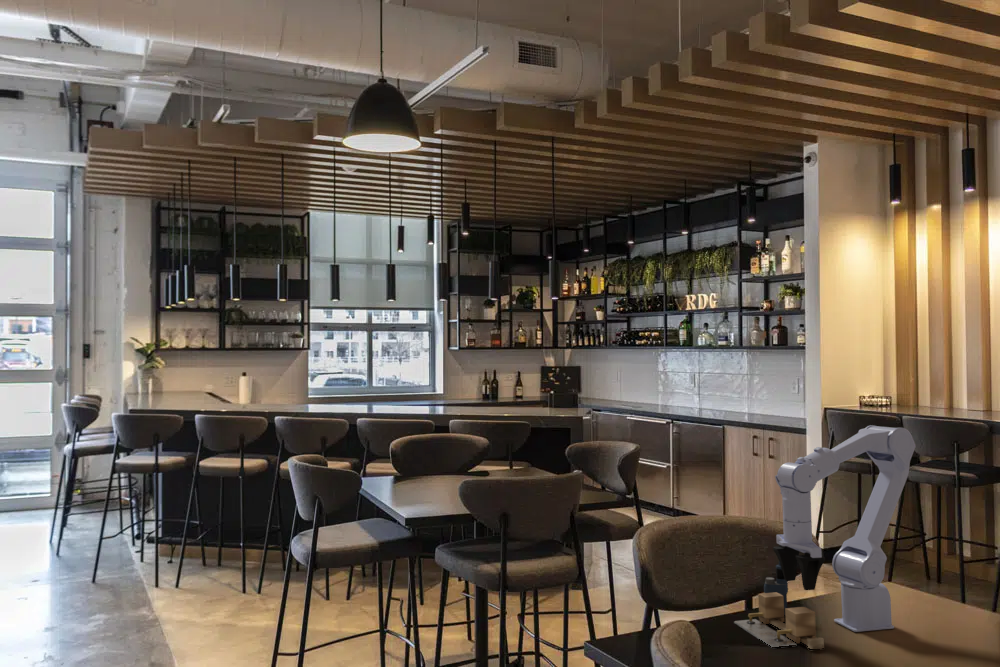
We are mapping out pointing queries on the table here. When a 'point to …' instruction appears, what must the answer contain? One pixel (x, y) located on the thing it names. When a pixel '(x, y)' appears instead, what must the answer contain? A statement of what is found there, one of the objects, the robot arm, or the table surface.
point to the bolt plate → (764, 633)
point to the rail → (810, 642)
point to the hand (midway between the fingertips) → (799, 584)
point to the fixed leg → (769, 607)
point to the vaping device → (777, 585)
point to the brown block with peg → (799, 624)
